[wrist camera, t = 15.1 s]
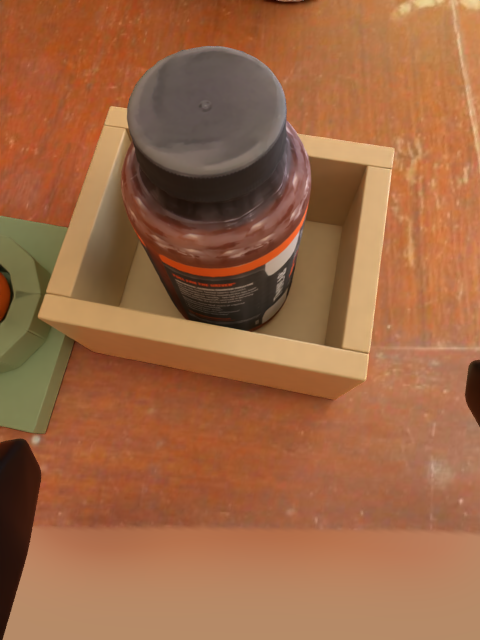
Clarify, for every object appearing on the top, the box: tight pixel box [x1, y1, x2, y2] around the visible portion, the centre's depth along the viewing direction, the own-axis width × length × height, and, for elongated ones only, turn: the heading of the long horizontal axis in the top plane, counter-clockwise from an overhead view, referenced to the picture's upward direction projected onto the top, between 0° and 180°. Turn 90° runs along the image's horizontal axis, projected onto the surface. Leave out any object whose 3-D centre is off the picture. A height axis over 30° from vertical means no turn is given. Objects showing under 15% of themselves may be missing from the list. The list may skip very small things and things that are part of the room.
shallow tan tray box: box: [38, 106, 394, 400], centre depth 19 cm, size 10×12×6 cm
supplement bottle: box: [121, 46, 311, 332], centre depth 16 cm, size 6×6×11 cm
